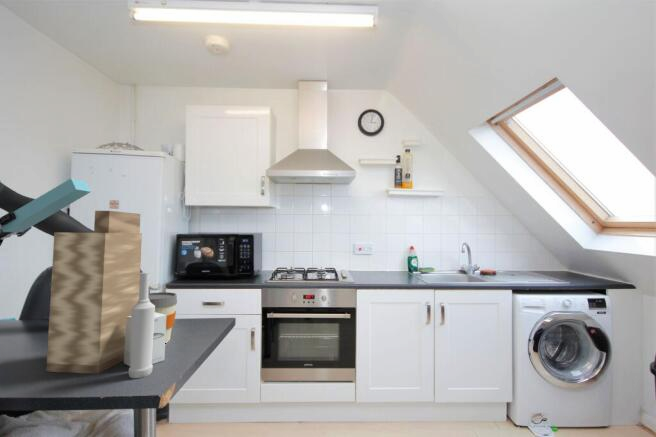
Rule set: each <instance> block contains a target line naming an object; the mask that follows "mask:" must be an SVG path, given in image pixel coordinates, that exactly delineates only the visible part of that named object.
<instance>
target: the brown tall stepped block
mask: <svg viewBox="0 0 656 437" xmlns="http://www.w3.org/2000/svg"><path fill="white" fill-rule="evenodd" d="M93 224H94V226H93V228H94V229H93V231H94V233H63V232H54V236H53V250H52V251H53V253H52V268H51V269H52V270H51V281H50V282H51V285H50V303H49V318H48V319H49V320H48V333H47V334H48V335H47V354H46V369H45V370H46V372H52V373H53V372H55V373H74V374H76V373H77V374H94V375H95V374H96V375H99V374H101V373H103V372H105V371H106V370H108V369H111V368H112V367H114V366H116V365H118V364H119V363H122V362H124V352H125V333H126V317H128V316H131V308H132V307H133V306H134V305H135V304H136V303H137V302H138V300H139V295H140V273H141V262H142V261H141V260H142V258H141V257H142V241H143V240H142V239H143V238H142V237H143V234H142V233H141V232H140V230H141V213H133V212H127V211H126V212H124V211H115V210H95V211H94V223H93Z"/></svg>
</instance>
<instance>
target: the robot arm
mask: <svg viewBox="0 0 656 437" xmlns="http://www.w3.org/2000/svg"><path fill="white" fill-rule="evenodd" d="M35 199H36V198H32V197H29V196H26V195H22V194H21V193H19V192H17V191H15V190H14V189H12V188H10V187H8V185H6V184H4V183H3V182H1V181H0V209H1V210H3V211H5V212H7V213H6V214H4V215H2V216H0V247H1V246H2V244H3V242H4V240H5V239H7V238H11V236H15V235H16V236H17V237H18V238H20V237H23V236H24V235H25V234H26V233H28V232H29V231H30V230H31V229H32V228H35V229H37V230H39V231H41V232H42V233H45V234H47V235H50V236H52V237H54V232H63V233H94V229H91V228H89V227H88V226H86V225H84V224H83V223H81V222H80V221H79V220H77V219H76V218H75V217H72V216H71V215H70V214H68V213H66V212H64V211H63V210H62V209H61V210H59V211H57V212H56V213H54V214H52V215H51V216H49V217H47V218H45V219H44V220H42V221H40V222H38V223H37V224H35V225H33V226H32V227H30V228H28V229H26V230H25V231H23V232H3V231H2V227H3V226H4V225H6V224H8V223H10V222H12V221H13V220H15V219H16V216H15V214H14V211H16V210H18V209H19V208H21V207H23V206H25V205H26V204H28V203H30V202H31V201H33V200H35Z"/></svg>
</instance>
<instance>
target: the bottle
mask: <svg viewBox="0 0 656 437" xmlns="http://www.w3.org/2000/svg"><path fill="white" fill-rule="evenodd" d="M149 285H150V272H140V288H139V300H138V302H137V303H136V304H135V305H134V306H133V307H132V308H131V352H130V366H129V368H128V376H129V378H131V379H141V378H145V377H148V376H150V375H151V374H152V372H153V370H154V364H152V349H153V333H154V317H155V305H153V304H152V303H151V302H150V300H149V299H148V293H150V292H149V290H150V289H149V288H150V286H149Z"/></svg>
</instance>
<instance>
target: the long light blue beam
mask: <svg viewBox="0 0 656 437" xmlns="http://www.w3.org/2000/svg"><path fill="white" fill-rule="evenodd" d="M91 192H92V191H91V189H90V187H89V184H88V183H87V180H86V181H85V180H82V179H81V180H80V179H75V178H69V179H68V180H67V179H66V181H64V182H62V183H60V184H59V185H57V186H56V187H53V188H52V189H51V190H48V191H47V192H45V193H43V194H41V195H40V196H38V197H37V198H34V199H35V200H33V201H31V202H30V203H28V204H26V205H25V206H23V207H21V208H19V209H18V210H16V211H14V214H15V216H16V219H15V220H13V221H12V222H10V223H8V224H6V225H4V226H3V227H2V231H3V232H23V231H25V230H26V229H28V228H30V227H32V228H33V225H35V224H37V223H38V222H40V221H42V220H44V219H45V218H47V217H49V216H51V215H52V214H54V213H56V212H57V211H59V210H61V211H62V210H63V209H64V208H66V207H67V206H69V205H71V204H73V203H74V202H76V201H78V200H80V199H81V198H83V197H85V196H87V195H88V194H90V193H91Z"/></svg>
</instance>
